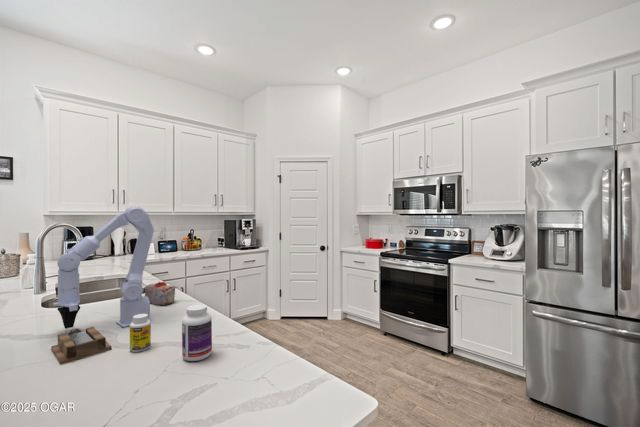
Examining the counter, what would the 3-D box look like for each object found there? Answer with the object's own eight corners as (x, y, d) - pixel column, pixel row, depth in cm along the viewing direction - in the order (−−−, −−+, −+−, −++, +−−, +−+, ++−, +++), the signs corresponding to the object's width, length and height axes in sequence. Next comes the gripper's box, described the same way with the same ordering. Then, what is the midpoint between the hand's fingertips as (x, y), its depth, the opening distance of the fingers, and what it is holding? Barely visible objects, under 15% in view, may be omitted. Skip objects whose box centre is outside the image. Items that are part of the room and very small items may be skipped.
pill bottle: (217, 352, 90) (217, 304, 90) (198, 365, 83) (198, 313, 83) (195, 348, 93) (195, 301, 93) (175, 360, 85) (175, 309, 85)
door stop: (66, 341, 96) (66, 330, 96) (82, 337, 99) (82, 326, 99) (77, 356, 87) (77, 343, 87) (94, 351, 90) (94, 339, 90)
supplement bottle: (129, 354, 89) (129, 320, 89) (129, 347, 93) (129, 314, 93) (151, 349, 92) (151, 316, 92) (150, 343, 96) (150, 311, 96)
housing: (51, 349, 92) (51, 336, 92) (98, 337, 101) (98, 325, 101) (60, 364, 83) (60, 350, 83) (111, 349, 92) (111, 336, 92)
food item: (178, 302, 140) (178, 281, 140) (163, 307, 133) (163, 285, 133) (156, 299, 145) (156, 279, 145) (141, 304, 138) (141, 282, 138)
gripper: (49, 286, 105) (49, 325, 105) (57, 294, 95) (57, 336, 96) (75, 283, 110) (75, 320, 110) (85, 289, 101) (85, 330, 101)
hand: (68, 327), depth 103 cm, fingers closed
